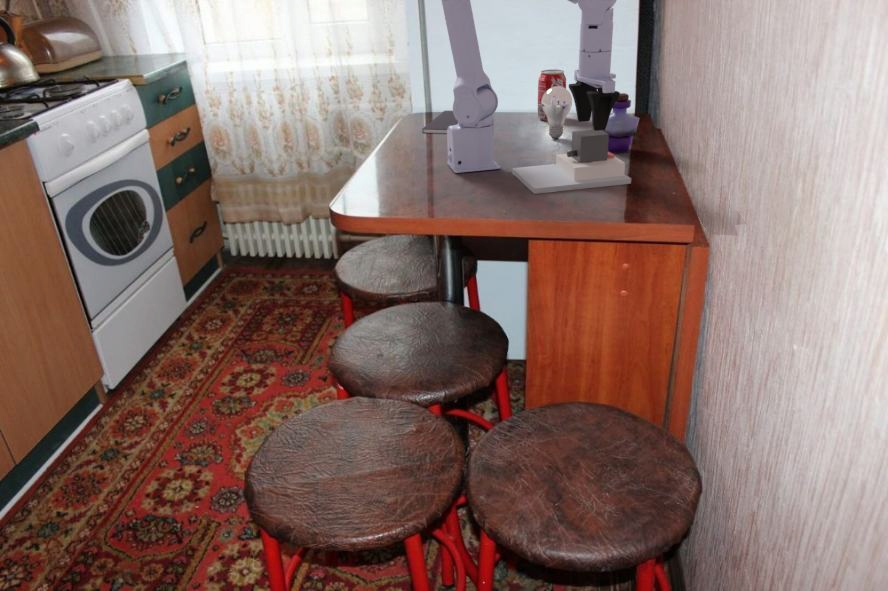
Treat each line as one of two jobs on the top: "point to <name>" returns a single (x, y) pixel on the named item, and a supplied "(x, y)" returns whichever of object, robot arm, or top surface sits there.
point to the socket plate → (590, 167)
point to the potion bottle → (621, 126)
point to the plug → (589, 146)
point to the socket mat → (560, 179)
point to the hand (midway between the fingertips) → (591, 125)
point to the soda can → (548, 86)
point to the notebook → (441, 123)
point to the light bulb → (556, 109)
